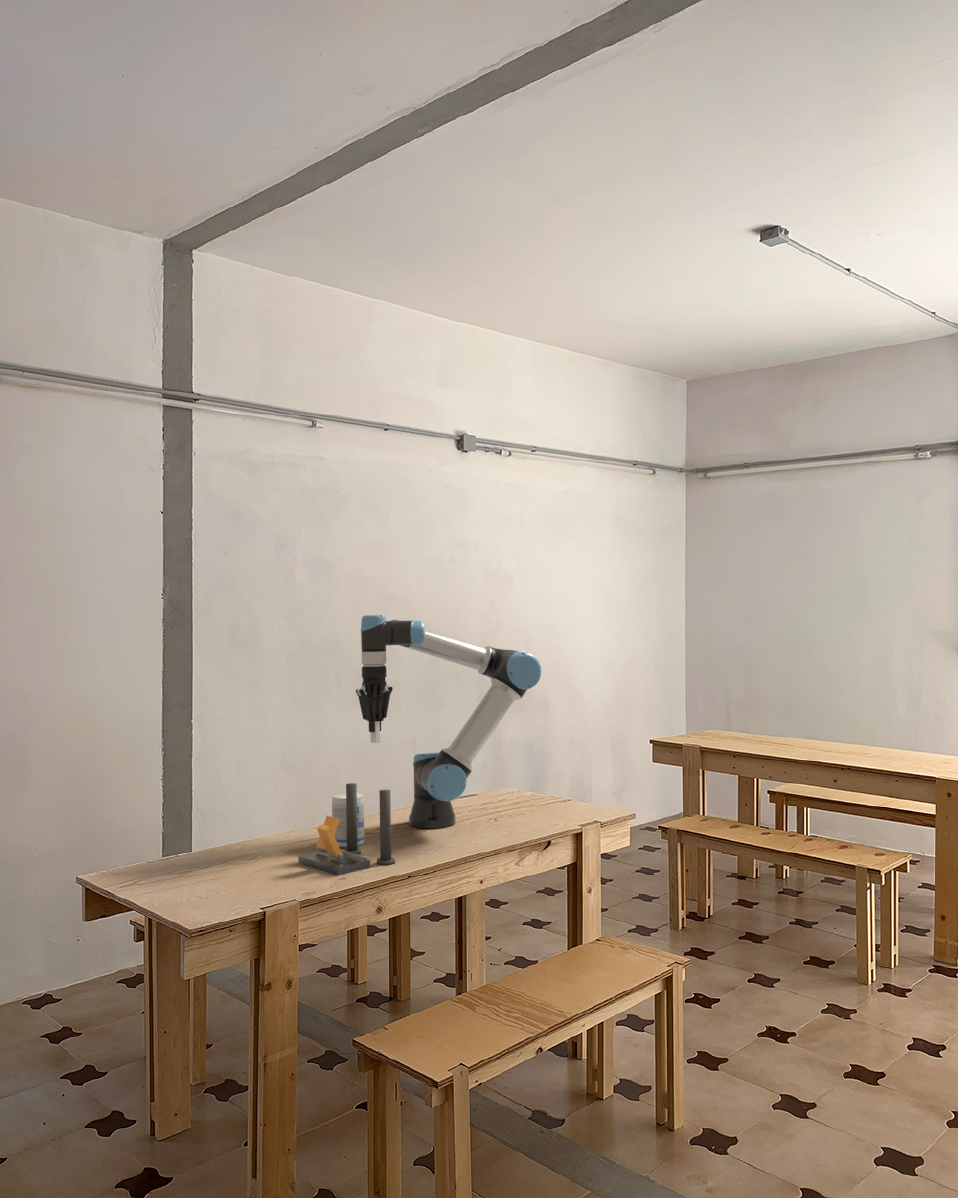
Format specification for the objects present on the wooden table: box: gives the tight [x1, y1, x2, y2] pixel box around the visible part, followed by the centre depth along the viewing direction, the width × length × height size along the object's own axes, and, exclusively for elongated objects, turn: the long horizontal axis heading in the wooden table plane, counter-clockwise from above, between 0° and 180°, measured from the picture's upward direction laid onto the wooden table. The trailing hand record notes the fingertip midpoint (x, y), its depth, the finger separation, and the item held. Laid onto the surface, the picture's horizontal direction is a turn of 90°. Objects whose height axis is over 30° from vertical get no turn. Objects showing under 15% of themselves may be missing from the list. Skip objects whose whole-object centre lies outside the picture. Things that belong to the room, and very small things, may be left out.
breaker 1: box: [316, 823, 343, 859], centre depth 264 cm, size 2×4×10 cm, turn 45°
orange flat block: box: [315, 815, 340, 853], centre depth 272 cm, size 2×4×10 cm, turn 46°
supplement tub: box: [331, 792, 365, 848], centre depth 290 cm, size 10×10×15 cm
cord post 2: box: [376, 789, 396, 866], centre depth 268 cm, size 5×5×20 cm
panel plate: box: [297, 849, 371, 876], centre depth 267 cm, size 11×18×3 cm, turn 45°
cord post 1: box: [343, 782, 362, 855], centre depth 279 cm, size 5×5×20 cm
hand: (375, 742), depth 296 cm, fingers closed
